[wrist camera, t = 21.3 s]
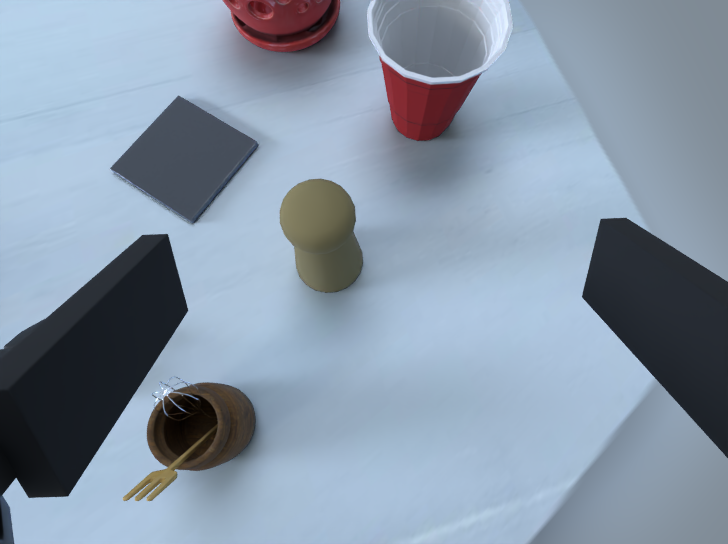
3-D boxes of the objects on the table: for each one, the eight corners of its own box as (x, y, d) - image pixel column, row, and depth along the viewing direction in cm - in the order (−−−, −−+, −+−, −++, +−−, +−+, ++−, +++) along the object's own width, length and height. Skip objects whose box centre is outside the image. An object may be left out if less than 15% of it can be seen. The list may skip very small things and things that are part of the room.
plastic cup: (359, 159, 41) (356, 64, 30) (373, 69, 44) (376, -48, 33) (471, 172, 41) (512, 81, 29) (478, 80, 44) (517, -34, 32)
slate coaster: (258, 145, 42) (257, 141, 41) (193, 223, 39) (190, 221, 39) (180, 99, 43) (178, 95, 43) (113, 171, 41) (109, 168, 40)
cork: (360, 295, 37) (357, 252, 27) (291, 290, 37) (262, 245, 27) (365, 231, 39) (365, 167, 28) (299, 226, 39) (275, 161, 28)
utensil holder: (260, 384, 35) (208, 374, 23) (254, 468, 33) (194, 501, 22) (188, 383, 35) (102, 373, 23) (178, 467, 33) (78, 500, 22)
